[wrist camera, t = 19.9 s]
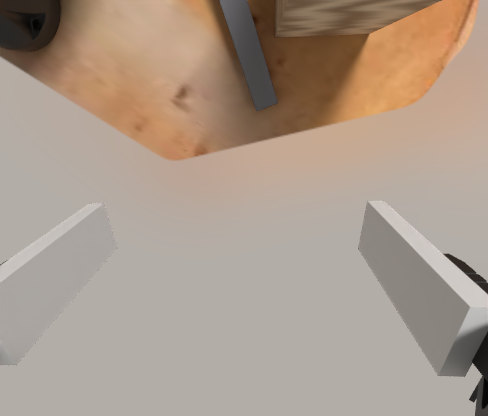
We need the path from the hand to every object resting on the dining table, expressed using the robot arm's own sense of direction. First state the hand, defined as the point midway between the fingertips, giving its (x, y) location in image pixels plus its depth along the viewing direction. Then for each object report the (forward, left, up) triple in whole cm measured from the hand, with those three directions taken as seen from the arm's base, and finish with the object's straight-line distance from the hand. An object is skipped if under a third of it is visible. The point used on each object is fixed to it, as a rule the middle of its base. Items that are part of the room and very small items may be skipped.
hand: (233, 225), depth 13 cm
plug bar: (-1, +15, -35) cm, 38 cm away
